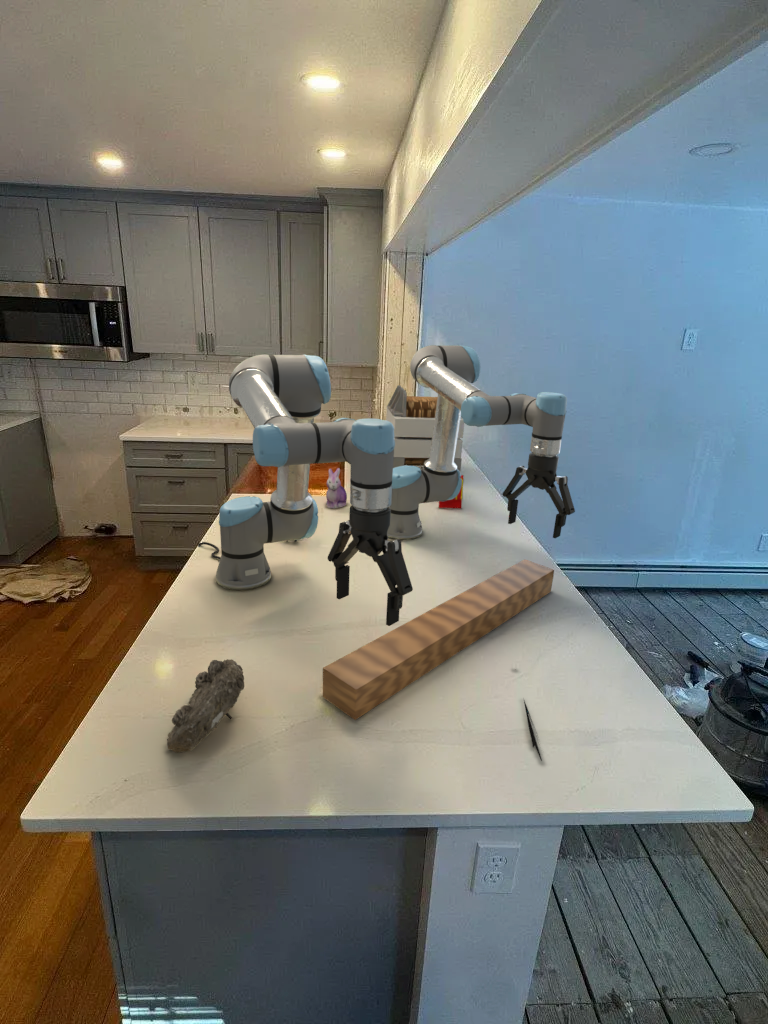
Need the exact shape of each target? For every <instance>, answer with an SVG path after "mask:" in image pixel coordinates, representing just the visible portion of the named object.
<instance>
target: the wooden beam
mask: <svg viewBox="0 0 768 1024" xmlns="http://www.w3.org/2000/svg"><path fill="white" fill-rule="evenodd" d="M554 575H555V569H554V568H551V567H548V566H545V565H542V564H540V563H537V562H534V561H531V560H529V559H525V558H523V560H521V561H518V562H516V563H515V564H512V565H511V566H509V567H507V568H506V569H504V570H501V571H500V572H498V573H496V574H494V575H493V576H491V577H488V578H487V579H485V580H483V581H481V582H480V583H478V584H476V585H474V586H472V587H470V588H468V589H467V590H465V591H463V592H460V593H459V594H457V595H455V596H454V597H451V598H450V599H448V600H446V601H444V602H443V603H441V604H439V605H436V606H435V607H433V608H431V609H429V610H428V611H426V612H423V613H421V614H420V615H418V616H417V617H414V618H412V619H411V620H409V621H407V622H405V623H404V624H401V625H400V626H398V627H396V628H394V629H392V630H390V631H388V632H387V633H385V634H382V635H381V636H379V637H377V638H375V639H374V640H372V641H370V642H368V643H366V644H365V645H363V646H361V647H359V648H357V649H355V650H353V651H351V652H349V653H347V654H346V655H344V656H342V657H340V658H339V659H336V660H334V661H333V662H331V663H329V664H326V665H325V666H323V667H322V698H324V699H325V700H326V701H327V702H329V703H330V704H332V705H333V706H334V707H336V708H337V709H339V710H340V711H341V712H343V713H345V714H346V715H347V716H348V717H350V718H351V719H352V720H354V721H356V720H358V719H359V718H361V717H362V716H364V715H366V714H367V713H368V712H369V711H371V710H373V709H375V708H376V707H377V706H380V704H382V703H384V702H385V701H387V700H388V699H390V698H391V697H393V696H394V695H396V694H397V693H399V692H400V691H402V690H404V689H405V688H406V687H408V686H409V685H411V684H412V683H415V682H416V681H417V680H419V679H420V678H422V677H423V676H425V675H426V674H428V673H429V672H431V671H432V670H434V669H435V668H437V667H439V666H440V665H441V664H443V663H445V662H447V660H449V659H451V658H452V657H455V655H456V654H459V653H460V652H461V651H463V650H464V649H466V648H468V647H469V646H471V645H472V644H473V643H475V642H477V641H478V640H480V639H481V638H483V637H485V636H486V635H488V634H489V633H490V632H492V631H493V630H495V629H496V628H498V627H499V626H501V625H503V624H504V623H506V622H507V621H509V620H510V619H512V618H513V617H515V616H516V615H518V614H519V613H521V612H522V611H524V610H525V609H527V608H529V607H530V606H531V605H533V604H534V603H536V602H537V601H539V600H541V599H542V598H544V597H545V596H547V595H548V594H550V593H551V592H552V587H553V580H554Z"/></svg>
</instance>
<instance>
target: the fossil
mask: <svg viewBox="0 0 768 1024" xmlns="http://www.w3.org/2000/svg"><path fill="white" fill-rule="evenodd" d="M243 670H244V669H243V667H242V665H240V664H237V662H236V661H235V660H234V659H232V658H231V659H227V658H226V659H224V660H223V661H222V660H217V659H212V660H211V661H210V663H209V665H208V666H207V671H201V672H199V673H198V674H197V675H196V676H195V680H194V684H195V685H194V687H195V689H194V690H193V693H192V694H191V697H190V698H189V700H188V704H184V705H182V706H181V707H180V709H177V710H176V711H175V713H174V715H173V716H172V718H171V723H172V724H173V727H172V730H171V731H170V732H168V734H167V738H166V741H167V742H166V745H167V749H168V750H169V751H173V752H174V753H176V754H178V753H182V752H188V751H189V752H192V751H193V750H195V748H196V747H197V746H199V744H200V743H201V742H203V741H204V740H205V739H206V738H207V737H208V736H209V735H210V734H211V733H212V732H214V730H215V729H217V727H218V726H219V724H220V722H221V721H222V720H223V719H224V718H225V716H226V717H227V719H229V720H233V717H232V715H230V714H229V710H230V709H231V708H234V706H235V704H236V703H237V702H238V699H239V697H240V695H241V693H242V691H243V690H245V689H244V688H245V675H244V671H243Z"/></svg>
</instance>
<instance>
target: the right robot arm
mask: <svg viewBox="0 0 768 1024" xmlns="http://www.w3.org/2000/svg"><path fill="white" fill-rule="evenodd" d="M481 368H482V367H481V360H480V357H479V354H478V352H477V351H476V350H475V349H474V348H473V347H471V346H467V345H459V344H458V345H455V344H454V345H451V344H450V345H444V344H443V345H441V344H440V345H436V344H429V345H425V346H423V347H421V348H419V349H418V350H417V351H416V352H415V353H414V354H413V356H412V358H411V361H410V365H409V371H410V374H411V377H412V378H413V380H414V381H415V382H416V383H417V384H419V385H420V386H421V387H423V388H429V389H431V390H432V391H434V392H435V393H436V394H437V397H438V398H437V405H436V413H435V420H434V427H433V435H432V442H431V449H430V457H429V459H428V460H426V461H425V463H424V466H423V469H421V467H420V466H407V465H404V466H399V467H395V468H393V475H392V501H391V506H389V507H390V509H391V519H390V526H389V528H388V531H387V535H388V538H389V539H392V540H396V539H400V540H401V541H410V540H415V539H418V538H420V537H421V536H422V535H423V525H422V524H423V523H422V520H421V518H420V515H419V507H420V506H419V505H420V504H427V503H437V502H438V503H439V501H442V502H443V501H446V500H451V499H453V498H455V497H456V496H457V495H458V494H459V492H460V489H461V485H462V479H461V475H462V473H461V474H460V472H459V470H458V469H457V465H456V464H455V463H454V457H455V450H456V444H457V438H458V431H459V425H460V419H461V418H462V419H463V422H464V425H466V426H468V427H478V428H480V427H481V428H482V427H489V426H508V425H525V426H528V427H531V428H532V430H531V431H532V432H531V439H530V444H529V445H530V446H529V447H530V448H529V451H530V452H529V454H528V461H527V468H526V467H525V465H520V466H518V467H516V469H515V473H514V475H513V477H512V478H511V480H510V481H509V483H508V484H507V486H506V488H505V489H504V490H503V492H502V497H504V498H507V506H506V507H507V512H508V521H507V524H508V525H512V524H514V523H516V521H517V520H516V519H517V513H518V505H519V500H518V499H517V498H518V497H519V496H520V495H521V494H523V493H524V492H525V491H526V490H527V489H529V488H530V487H532V488H535V489H539V490H545V492H546V493H547V494H548V495H549V497H550V499H551V501H552V503H553V504H554V506H555V508H556V510H557V514H555V520H554V526H553V533H552V539H557V538H559V537H561V532H562V528H563V527H565V525H566V522H567V517H568V516H570V515H572V514H575V512H576V509H575V506H574V503H573V499H572V495H571V492H570V489H569V486H568V485H569V482H568V480H569V477H568V476H567V475H563V476H560V475H557V470H558V466H559V460H560V457H559V454H560V453H561V446H562V438H563V434H564V433H563V432H564V427H565V420H566V415H567V406H568V397H567V396H566V395H565V394H563V393H560V392H551V391H542V392H538V394H537V395H536V397H535V396H531V395H527V394H525V393H515V392H514V393H511V394H509V395H489V394H487V393H486V392H485V391H483V390H481V389H479V388H478V387H477V386H475V385H474V383H476V382H477V381H478V379H479V378H480V375H481ZM524 475H525V476H526V478H527V479H526V480H525V481H524V482H523V483H522V484H520V486H519V487H518V488H516V487H517V485H518V484H519V482H520V481H521V479H522V478H523V476H524ZM555 482H556V484H555ZM556 485H558V488H557V486H556ZM515 489H516V490H515ZM557 489H558V490H559V491H558V490H557Z"/></svg>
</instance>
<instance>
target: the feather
mask: <svg viewBox="0 0 768 1024" xmlns="http://www.w3.org/2000/svg"><path fill="white" fill-rule="evenodd" d="M514 670H517V669H516V668H514ZM523 704H524V709H525V715H526V719H527V725H528V730H529V735H530V739H531V745H532V748H535V750H536V752H537V754H538V757H539V759H540V761H541V762H542V761H543V760H542V759H543V758H542V756H541V753H540V751H541V752H543V749H539V745H538V744H539V742H540V741H539V736H538V735H537V734H538V733H537V730H536V728H535V724H534V722H533V720H532V717H531V714H530V712H529V709H528V706H527V704H526V701H525V699H524V697H523ZM537 741H538V743H537ZM533 752H534V749H533Z"/></svg>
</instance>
